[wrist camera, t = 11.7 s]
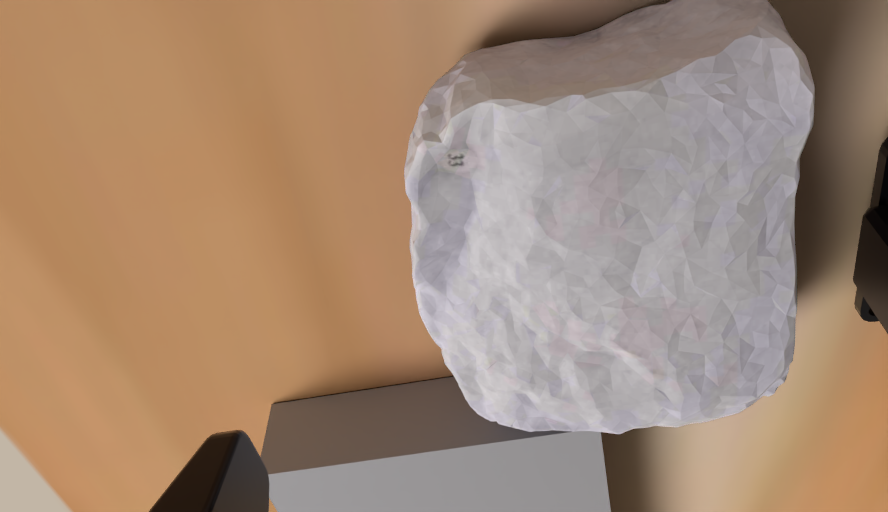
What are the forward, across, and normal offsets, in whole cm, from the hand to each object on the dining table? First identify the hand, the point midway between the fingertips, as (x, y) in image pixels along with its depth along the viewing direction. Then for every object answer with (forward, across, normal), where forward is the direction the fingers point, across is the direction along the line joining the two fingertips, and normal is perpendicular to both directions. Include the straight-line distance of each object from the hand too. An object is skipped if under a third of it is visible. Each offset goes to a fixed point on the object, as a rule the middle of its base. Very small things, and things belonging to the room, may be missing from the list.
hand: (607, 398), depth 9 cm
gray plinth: (+12, +5, +20) cm, 24 cm away
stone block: (+11, +4, +6) cm, 13 cm away
